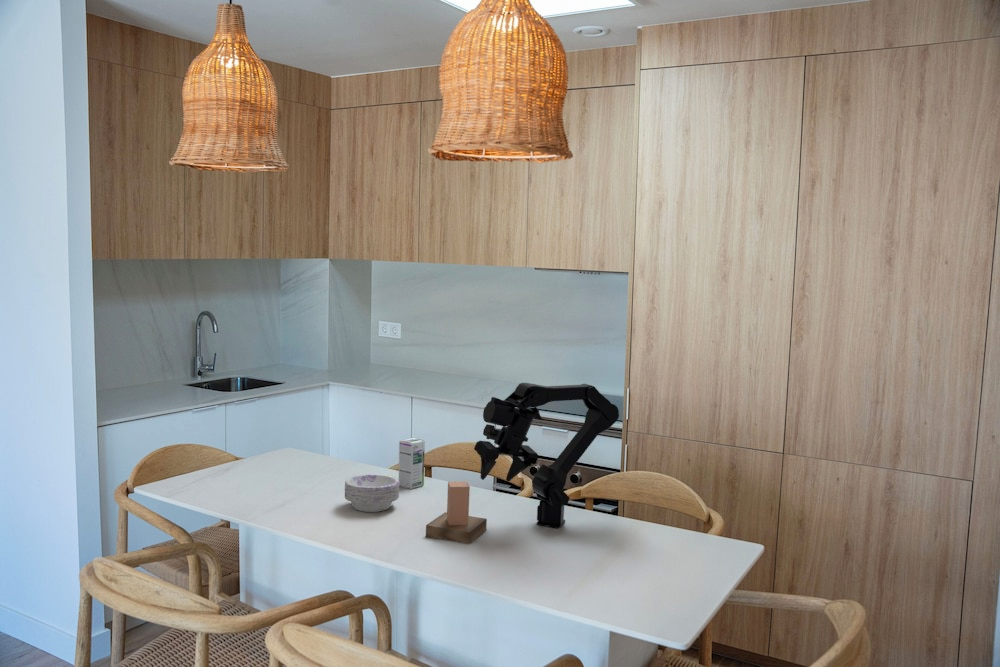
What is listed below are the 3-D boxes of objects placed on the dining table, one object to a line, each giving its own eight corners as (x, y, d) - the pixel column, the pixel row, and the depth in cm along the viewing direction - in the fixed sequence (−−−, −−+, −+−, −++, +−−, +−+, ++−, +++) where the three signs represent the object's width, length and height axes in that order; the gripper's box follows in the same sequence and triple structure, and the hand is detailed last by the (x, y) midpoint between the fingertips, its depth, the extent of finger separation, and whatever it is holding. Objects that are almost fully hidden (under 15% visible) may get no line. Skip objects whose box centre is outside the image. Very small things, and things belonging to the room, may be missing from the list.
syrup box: (411, 489, 250) (412, 443, 248) (397, 485, 253) (399, 439, 252) (424, 485, 254) (425, 440, 253) (410, 482, 258) (411, 437, 256)
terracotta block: (465, 518, 214) (467, 481, 214) (468, 524, 210) (469, 486, 209) (446, 518, 214) (448, 481, 213) (448, 525, 209) (450, 486, 208)
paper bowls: (371, 496, 241) (371, 470, 240) (409, 507, 232) (410, 479, 231) (332, 507, 228) (333, 480, 228) (371, 519, 220) (372, 490, 219)
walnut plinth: (486, 529, 215) (486, 518, 215) (469, 543, 204) (469, 532, 204) (444, 523, 219) (445, 512, 219) (425, 536, 208) (426, 525, 208)
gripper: (525, 417, 228) (503, 466, 231) (474, 411, 216) (452, 462, 219) (548, 437, 220) (526, 487, 223) (497, 431, 208) (474, 484, 211)
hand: (494, 479), depth 219 cm, fingers open, 9 cm apart
